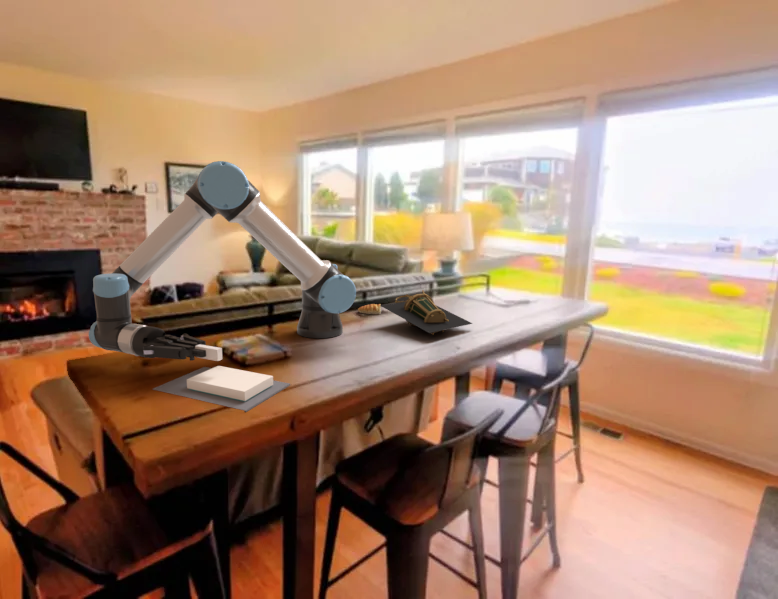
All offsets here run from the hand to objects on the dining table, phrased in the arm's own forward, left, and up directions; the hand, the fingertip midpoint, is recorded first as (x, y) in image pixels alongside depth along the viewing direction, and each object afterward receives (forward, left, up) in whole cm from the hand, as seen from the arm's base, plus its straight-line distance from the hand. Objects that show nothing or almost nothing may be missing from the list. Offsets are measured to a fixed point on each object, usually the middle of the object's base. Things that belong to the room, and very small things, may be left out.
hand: (219, 354), depth 104 cm
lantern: (-58, -51, -8) cm, 77 cm away
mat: (0, 0, -8) cm, 8 cm away
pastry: (-43, -74, -8) cm, 86 cm away
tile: (+5, -3, -6) cm, 8 cm away
